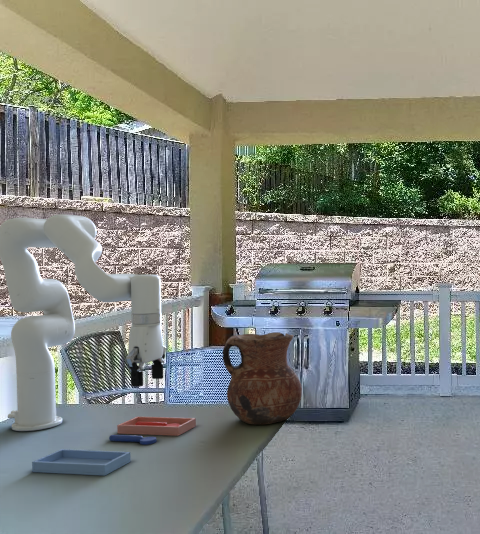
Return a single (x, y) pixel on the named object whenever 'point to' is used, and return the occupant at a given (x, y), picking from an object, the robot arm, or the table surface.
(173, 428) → the rose tray
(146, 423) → the red spoon
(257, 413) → the jug
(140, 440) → the navy spoon
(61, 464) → the blue tray
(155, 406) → the table surface
